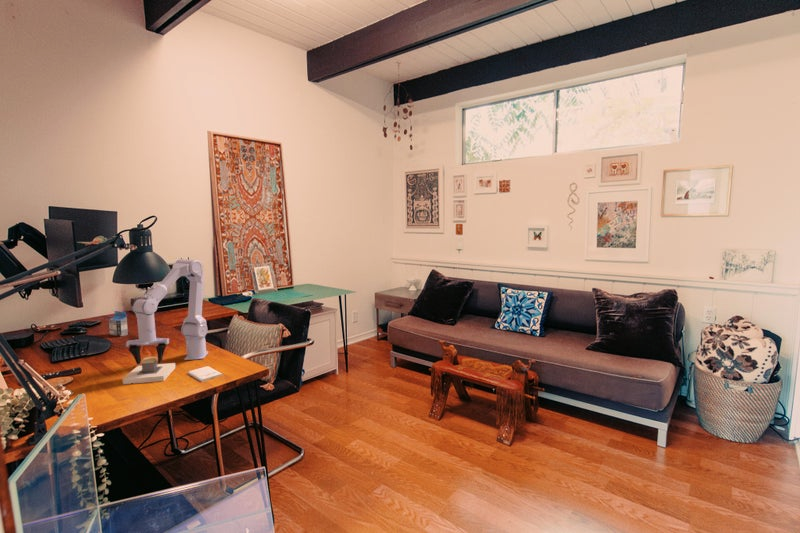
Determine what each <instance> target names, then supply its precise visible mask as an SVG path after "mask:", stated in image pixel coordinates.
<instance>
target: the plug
mask: <svg viewBox="0 0 800 533" xmlns="http://www.w3.org/2000/svg"><path fill="white" fill-rule="evenodd" d="M140 364H141V365H142V372H143V373H152V372H156V371H157V370H158V368H157V364H158V356H148V357H144V358H143V359H141V363H140Z"/></svg>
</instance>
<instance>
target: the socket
mask: <svg viewBox="0 0 800 533" xmlns="http://www.w3.org/2000/svg"><path fill="white" fill-rule="evenodd" d="M157 368H158V370H157V371H156V372H152V373H143V372H142V364H141V365H140V364H139V365H137V366H135V368H133V369H132V370H131V371H130V372H129V373H127V375H126V376H125V377H123V378H122V385H130V384H131V383H133V384H143V383H155V382H165V381H166V380H167V378H168V377H169V376H170V375H171V373H172V372H173V371H174V370H175V369H176V368H177V367H176V362H171V363H157ZM131 385H132V384H131Z"/></svg>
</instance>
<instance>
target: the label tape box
mask: <svg viewBox="0 0 800 533" xmlns="http://www.w3.org/2000/svg"><path fill="white" fill-rule="evenodd" d="M108 326H109V327H108V328H109V335H110V336H115V337H126V336H128V335H129V332H128V331H129V330H128V317H127V312H126V311H117V310H114V316H112V317H111V318H109V319H108Z"/></svg>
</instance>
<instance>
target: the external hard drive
mask: <svg viewBox="0 0 800 533" xmlns="http://www.w3.org/2000/svg"><path fill="white" fill-rule="evenodd" d="M187 374H188V375H189V376H191V377H193V378H195V379H196V380H197V381H198V382H201V383H203V382H206V381H210V380H212V378H213V379H216V378H219V376H220V377H223V373H221V372H220V371H218V370H216V369H214V368H212V367H210V366H209V365H207V366H203V367H199V368H195V369H193V370H188V371H187Z"/></svg>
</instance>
